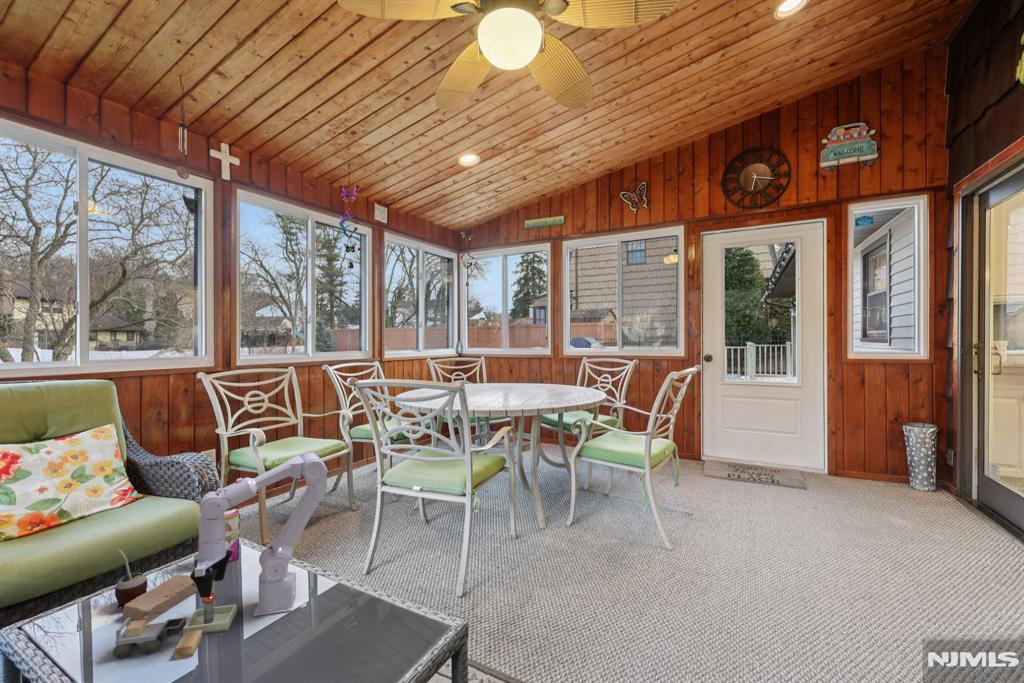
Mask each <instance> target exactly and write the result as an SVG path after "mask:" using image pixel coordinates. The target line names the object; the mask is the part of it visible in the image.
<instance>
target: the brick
mask: <svg viewBox="0 0 1024 683" xmlns="http://www.w3.org/2000/svg"><path fill="white" fill-rule="evenodd" d="M196 592H199V591H198V588H197V586H196V584H195V583H194V581H193V580H192V579H191V577H190V575H188V574H179V573H178V574H175V575H173V576H171V577H170V578H168V579H166V580H165V581H163V582H162V583H161V584H158V586H155V587H154V588H152V589H150V590H148V591H146V593H144V594H142V595H140V596H138V597H137V598H135V599H134V600H132V601H130V602H129V603H127V604H125V605H124V607H123V609H122V617H121V618H122V620H123V622H124V621H125V620H126V619H127V618H130V617H131V622H132V621H139V620H147V624H149V623H150V622H153V621H154V620H155V619H156V618H158V617H159V616H162V615H163V614H165V613H166V612H167V611H170V610H171V609H173V608H174V607H176V606H177V605H178V604H180V603H183V601H186V600H187V599H189V598H190V597H191V596H193V595H194V594H196Z"/></svg>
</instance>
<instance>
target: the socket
mask: <svg viewBox="0 0 1024 683" xmlns="http://www.w3.org/2000/svg"><path fill="white" fill-rule="evenodd" d="M186 624H187V616H185V617H179V618H176V617H175V618H169V619H167V620H166V622H165V627H164V628H166V629H167V635H166V637H169V636H175V635H180V634H181V632H183V628H184V627H185V625H186Z"/></svg>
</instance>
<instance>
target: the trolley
mask: <svg viewBox="0 0 1024 683" xmlns="http://www.w3.org/2000/svg"><path fill="white" fill-rule="evenodd" d="M165 623H166V622H156V623H150V624H149V623H147V620H139V621H132V622H131V617H130V618H127V619H126V620H125V621H124V620H123V622H122V623H121V625H119V627H118V628H117V629H116V630H115V636H116V637H115V639H116V640H115V643H114V644H115V648H113V651H112V655H113V657H114V658H115V659H119V660H120V659H121V660H122V659H125V658H126V657H128V656H129V654H130V653H131V652H132V651H133V649H134V648H133V647H135V646H136V645H138V643H143V644H142V645H141V646H140V651H141V653H142V654H144V655H148V656H149V655H152V654H154V653H155V652H156V651H157V649H159V647H160V645H161V643H162V641H164V640H165V638H167V636H166V635H167V629H166V628H164V627H165ZM124 628H125V630H124V631H123V629H124ZM122 631H123V632H122Z"/></svg>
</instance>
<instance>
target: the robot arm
mask: <svg viewBox="0 0 1024 683" xmlns="http://www.w3.org/2000/svg"><path fill="white" fill-rule="evenodd" d="M328 472H329V471H328V468H327V466H326V464H325V462H324V461H323V459H321V458H320V457H319V456H318V454H317V453H316V452H314V451H305V452H303V453H301V454H299V455H295V456H293V457H292V458H290V459H289V460H287V461H285V462H283V463H281V464H279V465H277V466H275V467H273V468H271V469H270V470H267V471H265V472H264V473H262V474H260V475H257V476H256V477H254V478H251V477H248V476H247V477H244V478H242V477H239V478H237V479H236V481H235V482H233V483H231V484H229V485H227V486H225V487H223V488H222V487H218V488H217V489H216V491H210V492H207V493H205V494H204V495H203V496H202V498H200V501H199V502H198V506H199V513H200V521H201V522H200V554H198V553H197V554H195V556H194V561H197V563H196V567H195V569H193V571H192V572H191V573H190V575H189V576H190V577H191V579H192V580H193V581H194V583H195V584H196V586H197V588H198V591H197V592H198V594H199V597H200V598H201V599H202V598H206V597H210V595H211V593H213V592H212V591H213V584H214V582H222V581H223V580H224V578H225V575H226V570H227V567H228V564H229V562H228V561H229V559H230V557H231V555H232V551H231V550H229V551H226V550H227V549H228V542H225V518H224V513H225V511H228V509H232V508H233V507H235V506H238V505H239V504H242V503H244V502H245V501H247V500H250V499H252V498H254V497H255V496H256V495H257V493H258V491H259V490H260V489H263V488H266V487H267V486H270V485H272V484H274V483H277V482H279V481H281V480H284V479H286V478H289V477H290V478H296V479H301V478H302V477H301V475H302V476H303V477H304V480H305V484H306V486H307V487H306V490H305V491H304V493H303V494H302V496H301V497H300V499H299V501H298V502H297V503H296V504H297V505H296V506H295V507H294V509H293V511H292V512H291V515H290V516H289V517H288V519H287V521H286V522H285V525H283V528H282V529H281V531H280V533H279V535H278V536H277V537H276V538H275V539H273V540H272V541H271V543H270V544H269V546H268V547H266V548H265V549H264V550H263V551H262V552H261V553H260V555H259V558H258V562H259V565H260V566H261V571H260V574H259V575H258V604H257V606H256V608H255V611H254V612H253V616H254V617H257V616H265V615H273V614H278V613H286V612H291V611H292V609H293V606H294V604H295V601H296V597H297V592H296V591H297V574H296V572H293V571H292V572H291V571H288V569H289V563H290V561H291V559H292V556H293V550H294V546H295V545H296V543H297V542H298V540H299V538H300V536H301V535H302V533H303V531H304V530H305V528H306V526H307V524H308V522H309V521H310V519H311V518H312V516H313V514H314V512H315V510H316V509H317V507H318V506H319V503H320V501H321V500H322V498H323V497H324V495H325V494H326V491H327V489H328ZM210 566H211V569H210V568H208V567H210Z"/></svg>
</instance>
